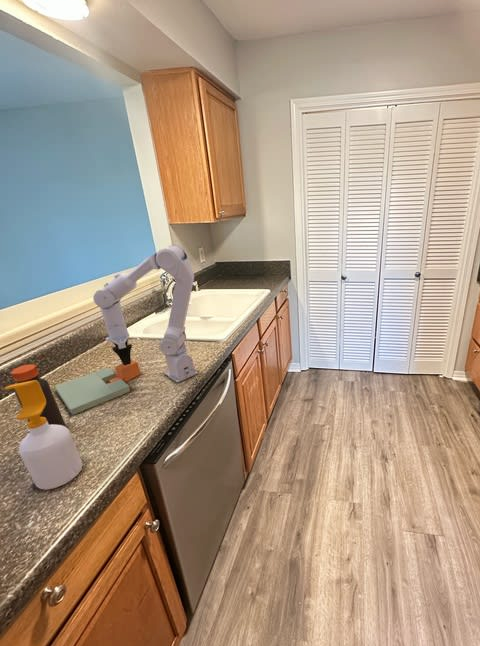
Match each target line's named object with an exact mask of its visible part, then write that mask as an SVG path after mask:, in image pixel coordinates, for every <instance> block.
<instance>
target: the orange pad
mask: <svg viewBox="0 0 480 646" xmlns="http://www.w3.org/2000/svg"><path fill="white" fill-rule="evenodd" d="M114 369H115V372H116V373H115V374H116V377H115V378H113V379H111V380H109V381H108V384H109V383H111V382H114V381H116V380H119V379H122V380H123V381H124V382H125V383H126V382H128V381H130V380H133V379H134V378H136V377H138V376H140V375H141V374H142V373H141V371H140V366H139V363H138V361H135V360H132V359H131V364H128V365H123V363H122V362H121V364H118V365H115V366H114Z"/></svg>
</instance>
